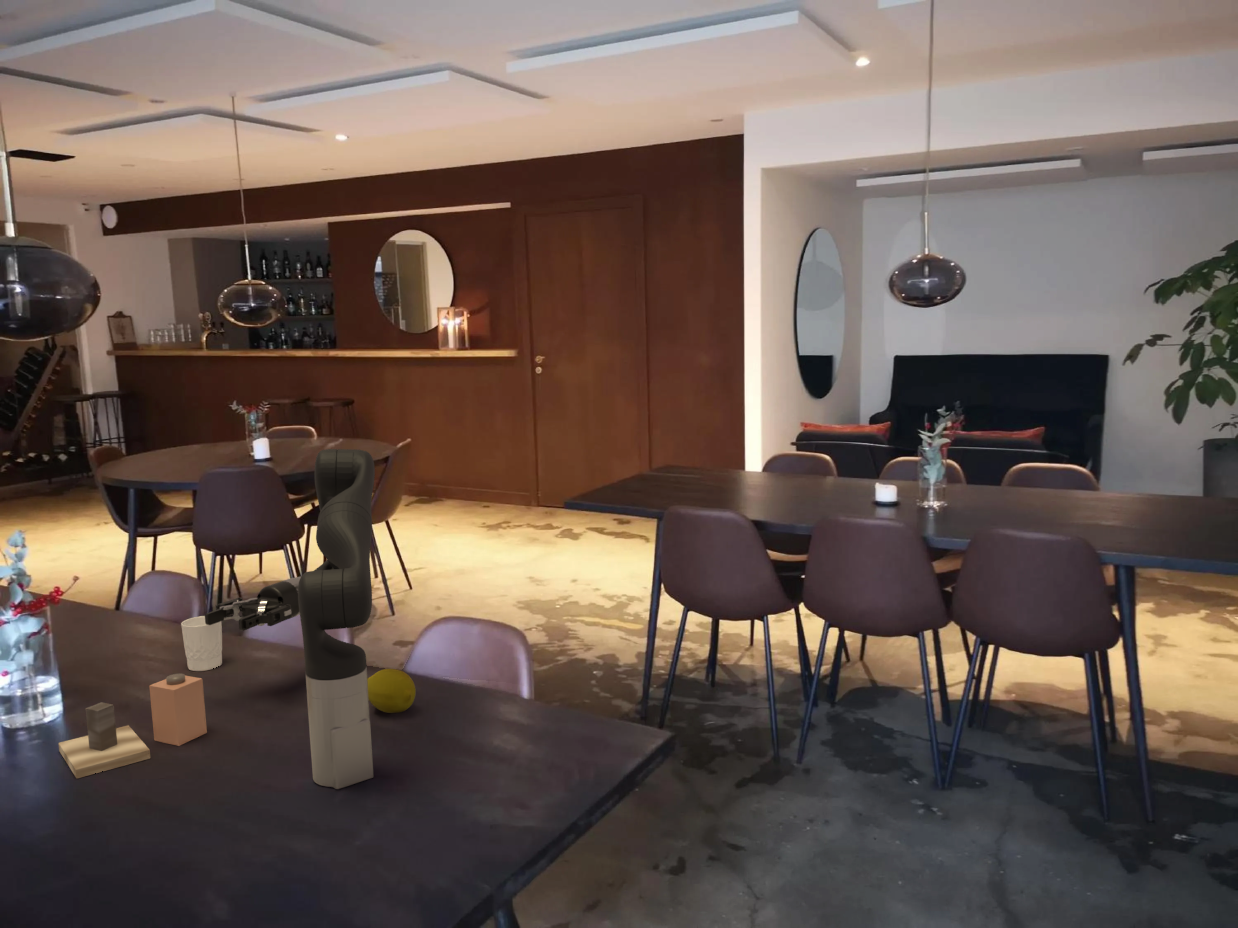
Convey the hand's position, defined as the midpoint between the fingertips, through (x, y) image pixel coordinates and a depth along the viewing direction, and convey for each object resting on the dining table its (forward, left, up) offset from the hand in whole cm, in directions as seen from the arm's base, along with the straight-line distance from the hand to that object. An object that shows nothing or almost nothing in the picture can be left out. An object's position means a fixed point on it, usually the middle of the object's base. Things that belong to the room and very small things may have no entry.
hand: (223, 622), depth 179 cm
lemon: (-20, -23, -18) cm, 35 cm away
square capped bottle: (-5, +10, -17) cm, 21 cm away
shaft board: (-4, +22, -17) cm, 28 cm away
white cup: (+31, -5, -18) cm, 36 cm away
